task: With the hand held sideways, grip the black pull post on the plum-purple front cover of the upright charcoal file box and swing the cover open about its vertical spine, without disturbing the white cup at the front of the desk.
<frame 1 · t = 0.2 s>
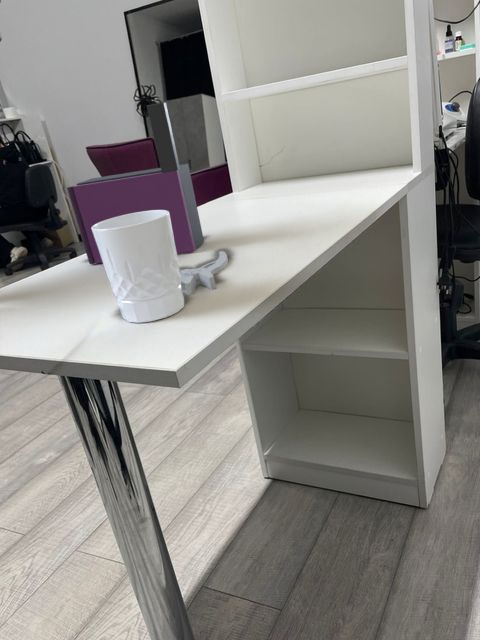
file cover: (124, 189, 78), point 10 cm above the table, hinge at 0.0°
file box: (152, 252, 85), on the table
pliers: (196, 278, 69), on the table
white cup: (154, 312, 59), on the table
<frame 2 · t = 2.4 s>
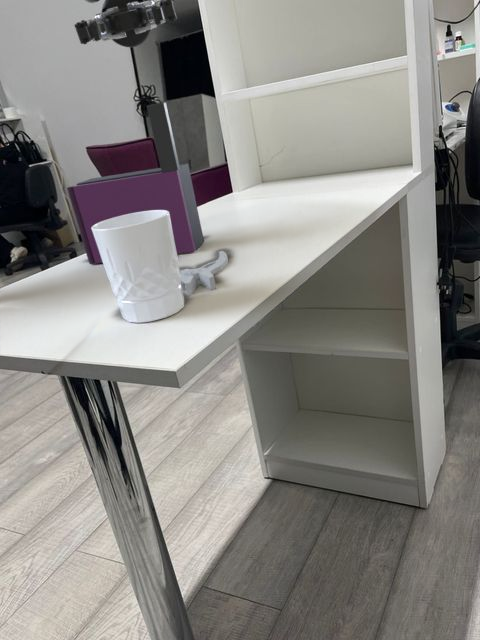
hand: (125, 23, 73), 31 cm above the table, tool horizontal, fingers open, 8 cm apart
nothing on the table moved.
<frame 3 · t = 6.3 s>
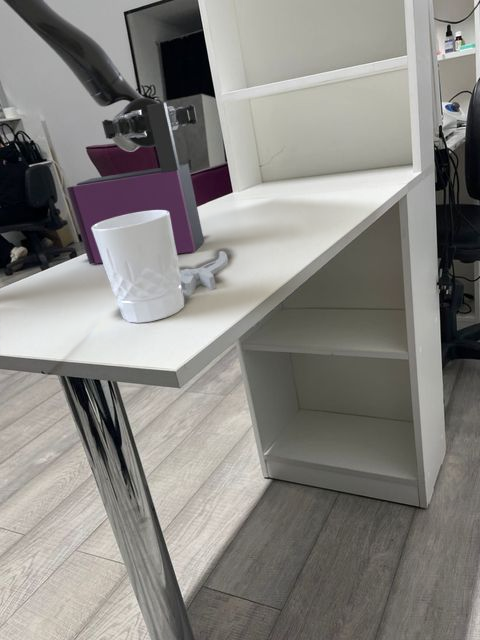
hand: (154, 121, 78), 18 cm above the table, tool horizontal, fingers open, 8 cm apart
nothing on the table moved.
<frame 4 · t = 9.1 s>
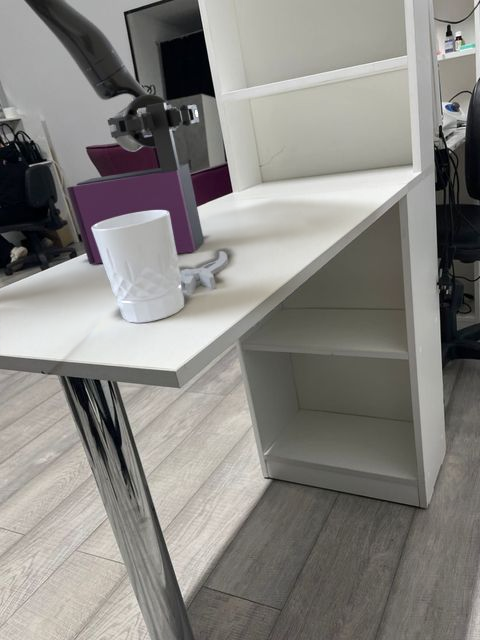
hand: (162, 119, 71), 18 cm above the table, tool horizontal, fingers closed on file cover, 2 cm apart
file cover: (124, 189, 78), point 10 cm above the table, hinge at 0.0°, touching gripper
everything else where it was.
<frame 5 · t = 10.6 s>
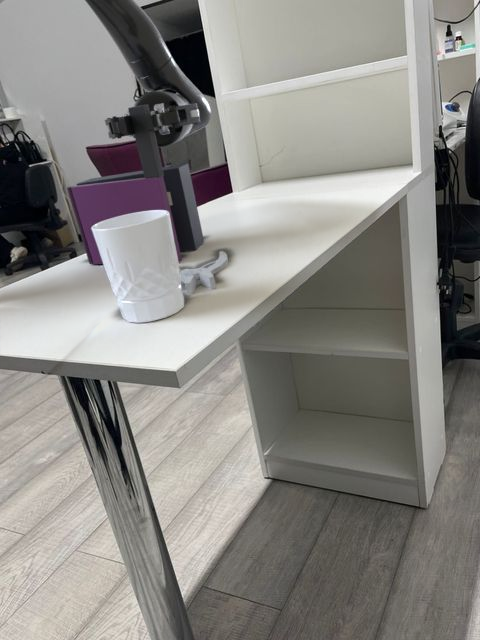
hand: (136, 124, 66), 18 cm above the table, tool horizontal, fingers closed on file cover, 2 cm apart
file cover: (114, 192, 76), point 10 cm above the table, hinge at 18.2°, touching gripper
everything else where it was.
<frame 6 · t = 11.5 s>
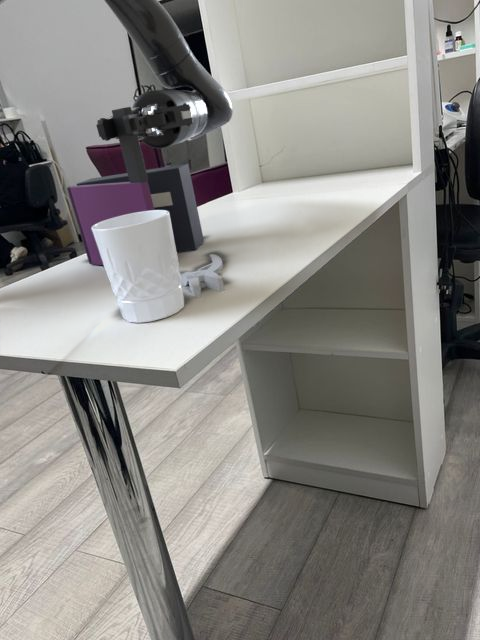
hand: (114, 127, 64), 19 cm above the table, tool horizontal, fingers open, 3 cm apart
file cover: (106, 194, 75), point 10 cm above the table, hinge at 29.1°
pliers: (195, 281, 68), on the table
everything else where it was.
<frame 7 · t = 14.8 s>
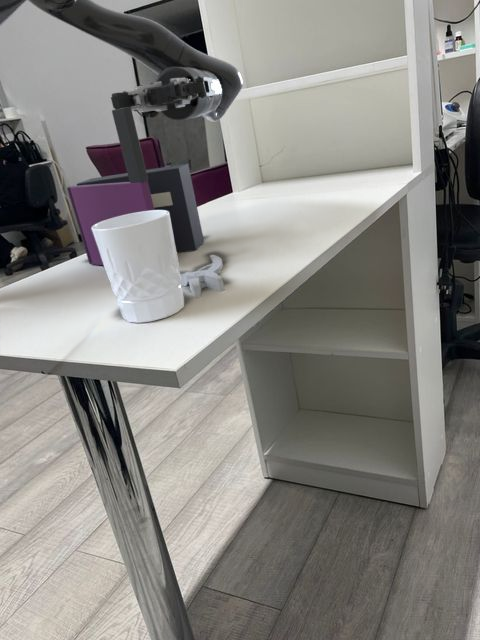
hand: (143, 96, 73), 22 cm above the table, tool horizontal, fingers open, 8 cm apart
nothing on the table moved.
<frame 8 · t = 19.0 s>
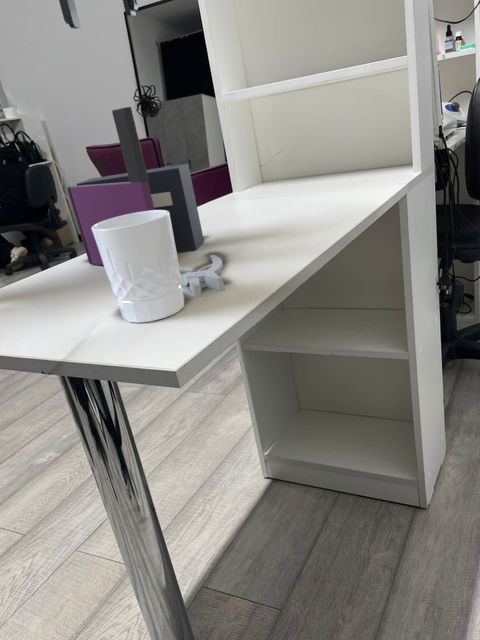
hand: (103, 21, 76), 32 cm above the table, tool pointing down, fingers open, 8 cm apart
nothing on the table moved.
at the end: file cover at +29° (first picture: +0°); the gripper is holding nothing; white cup moved 0.2 cm from its start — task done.
